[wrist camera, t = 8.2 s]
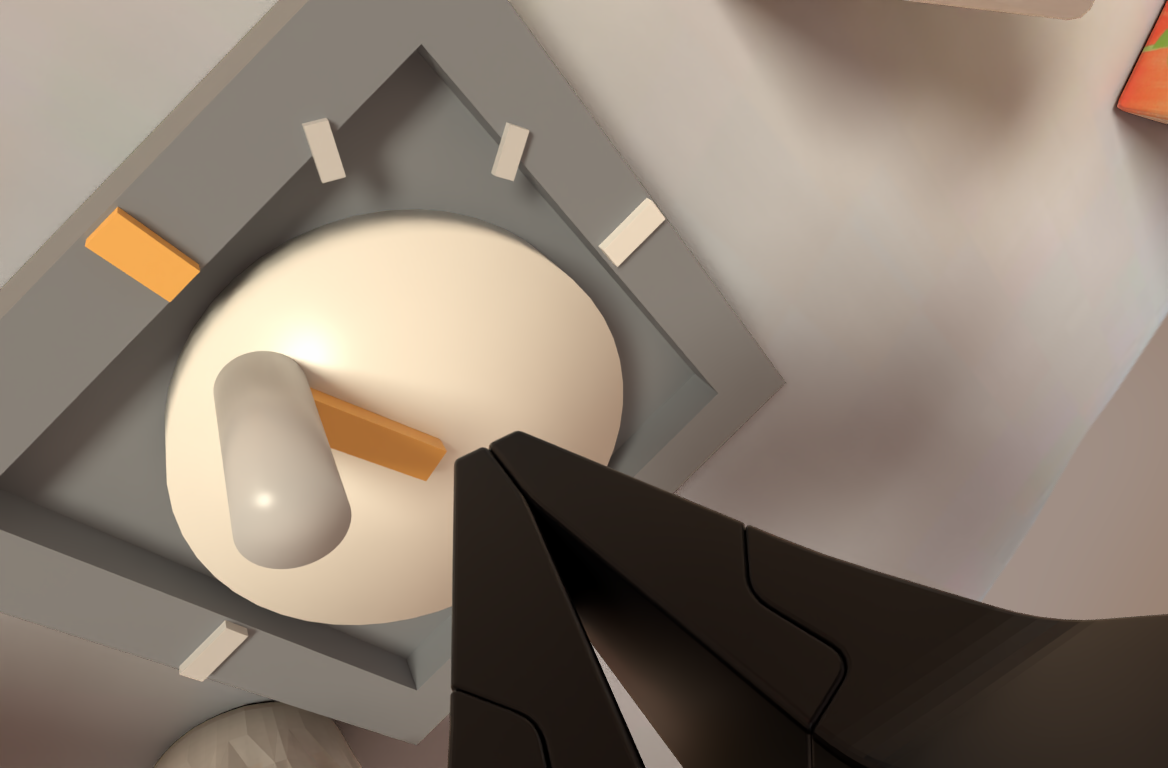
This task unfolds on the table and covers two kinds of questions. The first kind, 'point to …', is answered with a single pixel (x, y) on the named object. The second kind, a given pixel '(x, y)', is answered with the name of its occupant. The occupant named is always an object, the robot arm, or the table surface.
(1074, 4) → the medicine bottle
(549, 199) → the dial panel
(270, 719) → the cupcake
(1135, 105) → the cracker box
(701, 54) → the table surface
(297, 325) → the dial
